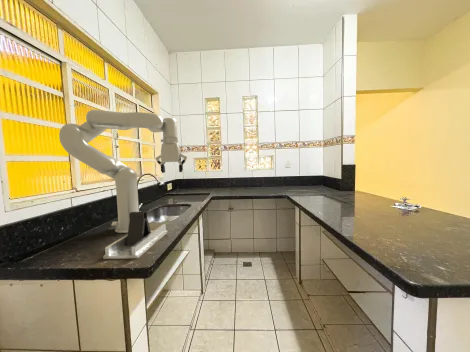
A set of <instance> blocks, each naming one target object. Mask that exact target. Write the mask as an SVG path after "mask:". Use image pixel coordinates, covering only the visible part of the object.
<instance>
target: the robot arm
mask: <svg viewBox="0 0 470 352" xmlns="http://www.w3.org/2000/svg"><path fill="white" fill-rule="evenodd" d="M85 119H86V121H85V122H83V123H82V124H80V125H79V124H76V123H66V124H64V125H63V126H61V128H60V130H59V133H58V135H59V142H60V144H61V146H62V147H63V149H64V150H65V152H66V153H68V154H69V155H71V157H73V158H74V159H76V160H78V161H79V162H82V163H83V164H84V165H86V166H88V167H90V168H92V169H93V170H95V171H96V172H98V173H99V174H101V175H105V176H108V177H110V178H111V179H113V180H114V181H115V183H114V184H115V191H116V193H115V194H116V202H117V203H116V204H117V219H118V220H117V221H112V223H111V225H110V226H111V227H115V229H114V232H115V233H118V234H124V233H127V234H128V228H129V221H130V218H129V214H130V213H131V212H140V209H139V207H140V206H139V193H138V173H137V172H136V171H135V170H134V169H133V168H132V167H130V166H128V165H126V163H125V164H124V163H123V162H121V161H120V160H118V159H116V158H114V157H113V156H110V155H108V154H106V153H104V152H102V151H100V150H99V149H97V148H95V146H92V145H91V144H89V143H90V142H92V141H93V140H95V138H97V137H99V136H100V135H101V134H103V133H104V132H105V131H106V130H119V131H128V130H132V129H139V128H140V129H141V128H142V129H148V130H149V131H150V132H151V133H162V139H160V142H161V149H160V154H159V155H158V156H156V157H155V160H156V163H158V165H159V166H160V172H161V174H164V173H166V167H165V166H166V165H165V164H166V163H175V162H176V163H178V164H179V165H178V172H179V173H183V170H184V169H183V168H184V167H183V166H184V164H185V163H186V161H187V159H188V156H186V155H184V154H182V153H181V148H180V143H179V142H178V125H177V124H178V123H177V119H176V118H173V117H165V118H162V117H161V116H160V115H159V114H155V113H150V112H137V111H135V112H133V111H132V112H122V111H121V112H120V111H111V110H104V109H103V110H101V109H91V110H89V111H88V112H86V115H85ZM182 159H183V160H182Z"/></svg>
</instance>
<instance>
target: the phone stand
mask: <svg viewBox="0 0 470 352" xmlns="http://www.w3.org/2000/svg"><path fill="white" fill-rule="evenodd" d="M129 218H130V221H129V228H128V232H127V234H128V235H127V234H126V235H127V242H126V245H135V244H136V243H138V242H139V241H140V240H142V239H143V238H144V237H146V236H147V235H149V234H150V233H151V231H150V230H151V228H150V223H149V220H148V213H147V211H139V212H131V213H130V214H129Z"/></svg>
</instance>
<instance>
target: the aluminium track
mask: <svg viewBox="0 0 470 352" xmlns="http://www.w3.org/2000/svg"><path fill="white" fill-rule="evenodd" d="M150 231H151V233H150V234H149V235H147V236H146V237H144V238H143V239H142V240H140V241H139V242H138V243H136V244H135V245H126V242H127V235H128V233H127V234H126V235H124V236H122V237H120V238H119V239H117V240H115V241H114V242H112V243H111V244H108V245H107V246H105V248H104V251H105V254H104V255H103V260H117V259H118V260H120V259H124V260H125V259H126V260H127V259H128V260H129V259H139V258H140V257H142V255H144V254H145V252H147V251H148V250H149V249H151V248H152V247H153V246H154V245H155V244H156V243H157V242H158V241H159V240H160V239H161V238H163V237H164V236H165V235H166V234H168V233H169V231H168V230H167V226H166V223H162V224H161V225H160V226H158V227H157V228H155V229H153V230H152V229H150Z"/></svg>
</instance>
